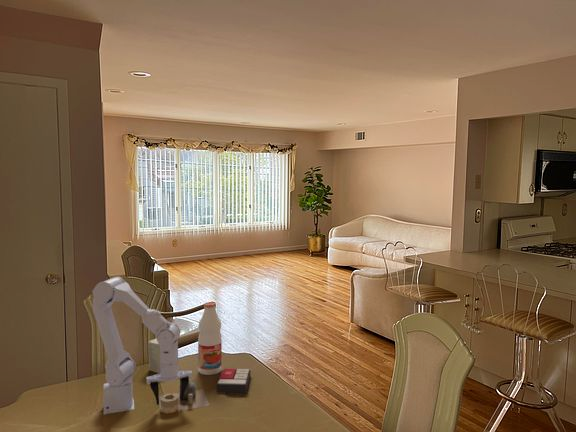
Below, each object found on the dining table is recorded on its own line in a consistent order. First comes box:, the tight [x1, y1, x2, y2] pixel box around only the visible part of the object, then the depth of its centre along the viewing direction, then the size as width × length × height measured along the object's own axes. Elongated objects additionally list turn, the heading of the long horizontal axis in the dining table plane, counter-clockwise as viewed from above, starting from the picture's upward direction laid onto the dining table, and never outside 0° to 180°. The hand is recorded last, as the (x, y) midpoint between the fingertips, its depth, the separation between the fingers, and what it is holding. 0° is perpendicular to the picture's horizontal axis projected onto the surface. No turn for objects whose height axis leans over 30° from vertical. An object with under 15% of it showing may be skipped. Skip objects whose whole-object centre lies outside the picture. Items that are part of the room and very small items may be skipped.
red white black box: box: [216, 368, 251, 395], centre depth 165 cm, size 11×4×15 cm
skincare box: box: [147, 338, 161, 374], centre depth 177 cm, size 6×4×12 cm
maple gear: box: [160, 392, 178, 414], centre depth 145 cm, size 6×6×4 cm
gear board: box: [158, 381, 210, 415], centre depth 150 cm, size 16×13×6 cm
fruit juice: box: [197, 301, 223, 376], centre depth 176 cm, size 9×9×28 cm
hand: (169, 401), depth 145 cm, fingers open, 7 cm apart
